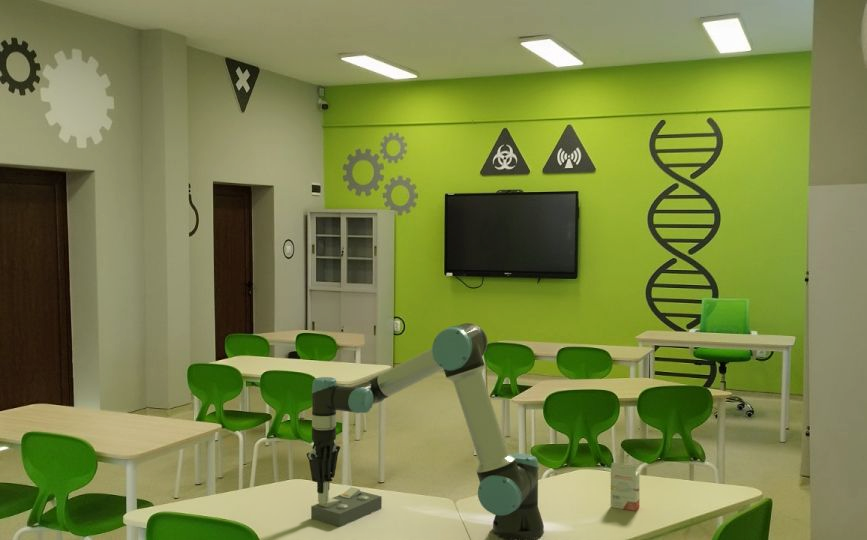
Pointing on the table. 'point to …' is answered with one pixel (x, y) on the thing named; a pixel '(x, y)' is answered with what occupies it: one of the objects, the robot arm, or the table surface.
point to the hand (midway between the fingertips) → (323, 502)
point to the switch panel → (347, 509)
